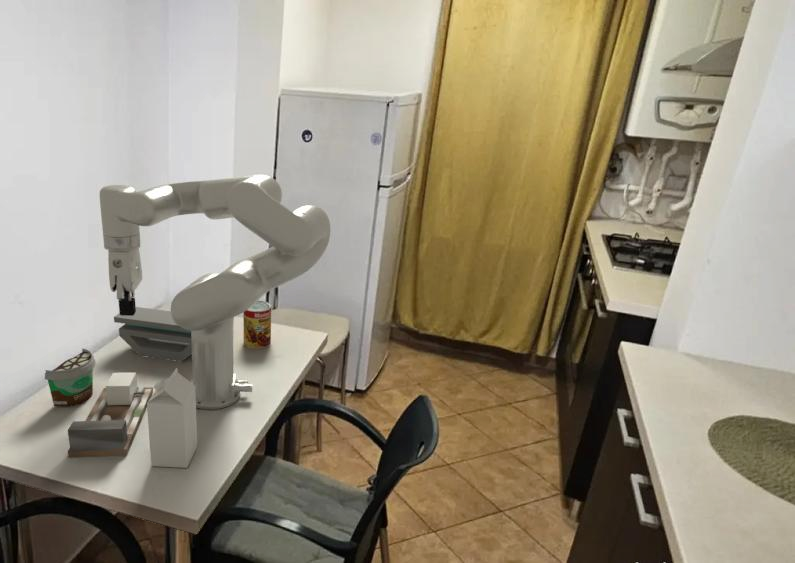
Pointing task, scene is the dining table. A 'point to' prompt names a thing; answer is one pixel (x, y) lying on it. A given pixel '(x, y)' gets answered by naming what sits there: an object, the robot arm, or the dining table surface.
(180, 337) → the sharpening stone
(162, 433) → the milk carton
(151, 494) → the dining table surface
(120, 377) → the gauge carriage
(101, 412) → the gauge board
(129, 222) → the robot arm
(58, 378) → the food container
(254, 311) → the canned food
